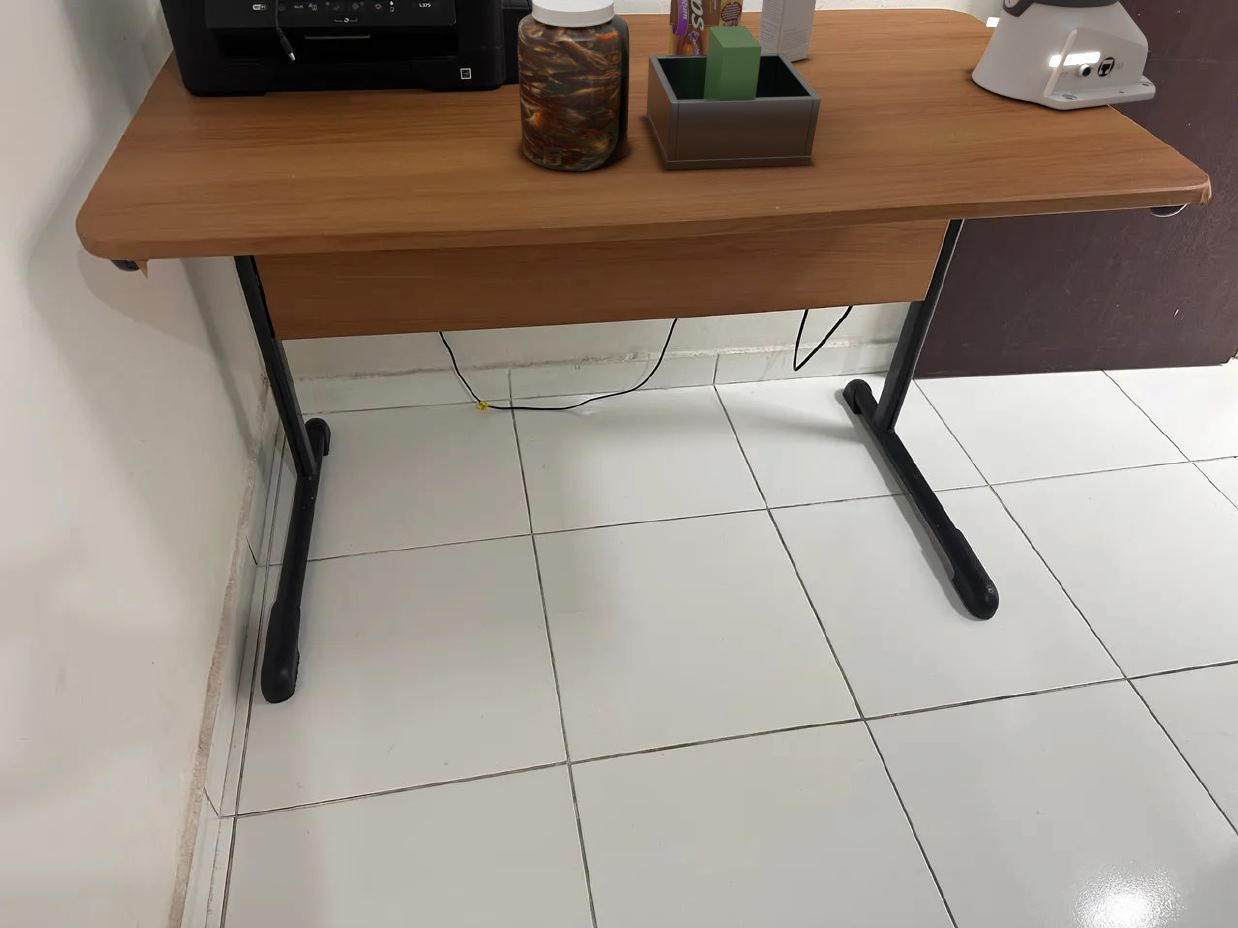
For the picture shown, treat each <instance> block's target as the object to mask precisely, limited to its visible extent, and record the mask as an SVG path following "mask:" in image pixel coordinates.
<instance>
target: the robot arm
mask: <svg viewBox="0 0 1238 928" xmlns="http://www.w3.org/2000/svg"><path fill="white" fill-rule="evenodd" d="M1120 2H1121V1H1120V0H1003V1H1002V9H1001V12H1000V15H999V17H988V18H987V22H986V27H994V29H993V32H992V35H991V36H990V39H989V41H988V43H987V45H986V48H985V49H984V52H983V53H982V55H981V57H980V59H979V61H978V63H977V65H976V66H975V68H974V69H973V71H972V72H971V78H972V80H973V81H974V82H975V83H976V84H977V85H978V86H980V87H982V89H983V88H984V89H986V90H988V91H990V92H992V93H995V94H998V95H1001V96H1005V97H1008V98H1012V99H1017V100H1020V101H1027V102H1031V103H1037V104H1040V105H1043V106H1046V107H1050V108H1052V109H1056V110H1061V111H1062V110H1063V111H1064V110H1066V111H1067V110H1073V109H1083V108H1091V107H1099V106H1107V105H1114V104H1123V103H1132V102H1139V101H1147V100H1153V99H1155V95H1156V86H1155V84H1154V83H1153V82H1152V81H1151V80H1150V79H1148V78H1147V77H1146V75H1145V76H1144V75H1143V73H1144V71H1145V70H1147V69H1146V68H1147V66H1148V64H1149V61H1150V59H1151V56H1152V54H1153V51H1151V50H1150V49H1149V43H1148V40H1147V37H1146V35H1145V34H1144V33H1143V31H1142V30H1141V29H1140V27H1139V26H1138V25H1137V23H1136V22H1135V21H1134V20H1133V18H1132V17H1131V16H1130V15H1129V13H1128V12H1127V10H1126V9H1125V7H1123V5H1122V4H1121V3H1120Z"/></svg>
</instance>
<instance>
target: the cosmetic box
mask: <svg viewBox="0 0 1238 928" xmlns="http://www.w3.org/2000/svg"><path fill="white" fill-rule="evenodd" d="M816 4H817V0H762V5H761V14H760V20H759V30H758V36H757V41H758V43H759V44H760V45H761V47H762V48H761V53H783V54H784V55H785V56H786V57H787V58H788V60H789V61H790V62H791V63H792V62H795V61H799V60H803V59H807V58H808V53H809V47H810V42H811V35H812V28H813V23H814V22H813V21H814V17H815V9H816Z"/></svg>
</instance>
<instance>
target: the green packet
mask: <svg viewBox="0 0 1238 928" xmlns="http://www.w3.org/2000/svg"><path fill="white" fill-rule="evenodd" d="M761 48H762V47H761V45H760V44H759V43H758V39H756V37H755V36H754V35H753V34H752V32H751V31H750V30H749V28H748V27H747V26H746V25H740V26H725V27H710V28H709V40H708V52H707V64H706V76H705V88H704V99H731V98H755V97H756V89H757V81H758V73H759V65H760V57H761Z"/></svg>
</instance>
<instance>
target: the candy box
mask: <svg viewBox="0 0 1238 928" xmlns="http://www.w3.org/2000/svg"><path fill="white" fill-rule="evenodd" d="M743 5H744V0H670V7H669V12H670V13H669V23H668V24H669V27H668V44H667V55H707V52H708V40H709V28H710V27H725V26H742V25H741V23H742V15H743Z"/></svg>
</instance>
